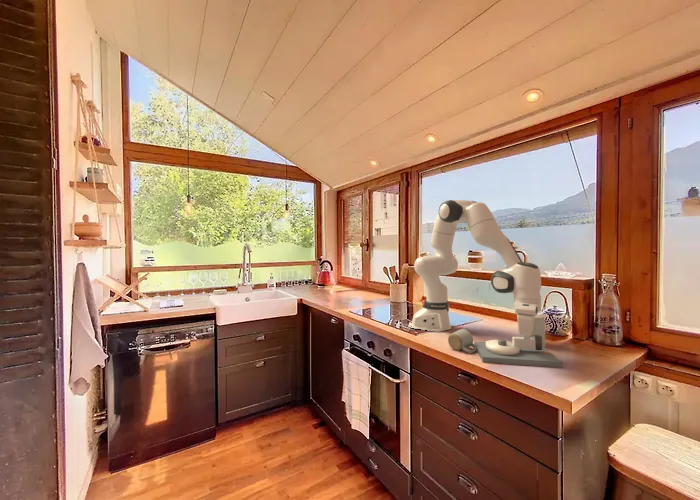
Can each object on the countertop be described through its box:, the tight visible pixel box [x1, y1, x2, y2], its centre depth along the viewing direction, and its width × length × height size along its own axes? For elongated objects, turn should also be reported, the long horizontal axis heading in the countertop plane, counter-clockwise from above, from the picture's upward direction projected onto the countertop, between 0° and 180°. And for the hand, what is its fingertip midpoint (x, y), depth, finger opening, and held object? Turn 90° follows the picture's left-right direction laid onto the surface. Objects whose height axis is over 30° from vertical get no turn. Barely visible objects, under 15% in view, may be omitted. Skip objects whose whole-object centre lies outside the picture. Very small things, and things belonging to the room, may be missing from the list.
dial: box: [485, 335, 542, 355], centre depth 114 cm, size 20×12×6 cm, turn 77°
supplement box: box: [520, 313, 546, 348], centre depth 126 cm, size 7×7×13 cm
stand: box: [473, 341, 563, 368], centre depth 114 cm, size 26×18×2 cm
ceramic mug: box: [447, 328, 477, 354], centre depth 122 cm, size 11×8×8 cm
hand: (527, 341), depth 110 cm, fingers closed
